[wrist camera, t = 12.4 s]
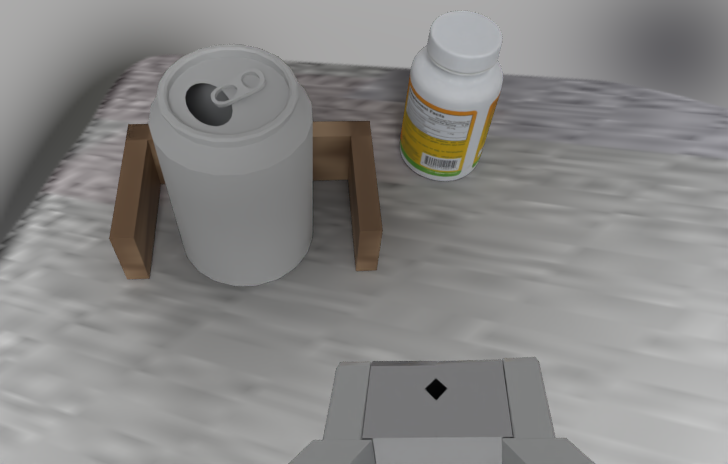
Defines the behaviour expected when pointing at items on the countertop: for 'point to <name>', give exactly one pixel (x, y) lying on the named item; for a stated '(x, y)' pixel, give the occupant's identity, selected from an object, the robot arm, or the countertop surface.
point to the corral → (330, 162)
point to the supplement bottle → (452, 96)
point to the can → (237, 161)
